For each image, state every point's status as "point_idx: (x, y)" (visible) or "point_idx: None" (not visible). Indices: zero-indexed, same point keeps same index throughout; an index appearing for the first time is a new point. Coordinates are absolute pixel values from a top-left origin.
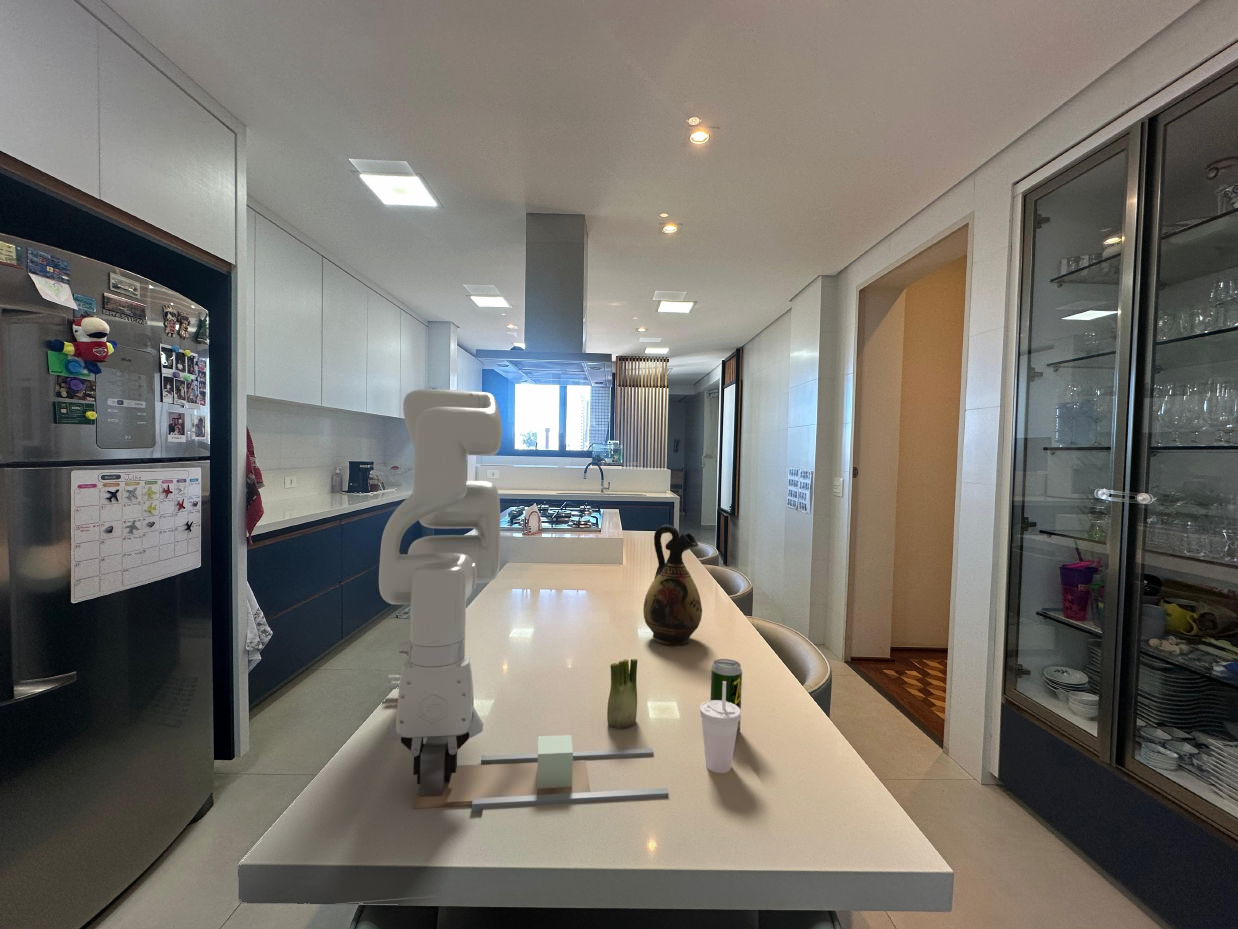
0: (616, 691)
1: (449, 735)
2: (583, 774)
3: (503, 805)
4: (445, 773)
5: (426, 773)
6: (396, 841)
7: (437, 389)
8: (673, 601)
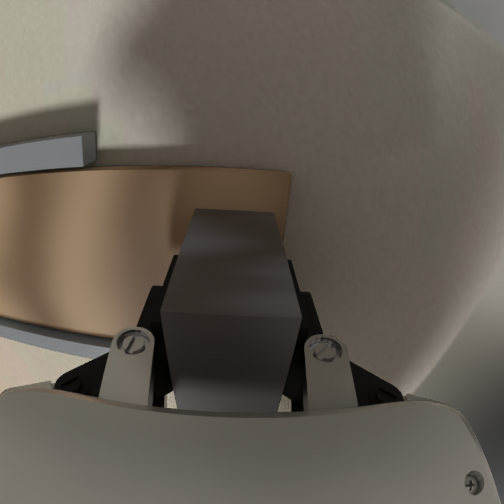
0: None
1: (96, 402)
2: None
3: (12, 144)
4: None
5: (256, 253)
6: (320, 24)
7: None
8: None
